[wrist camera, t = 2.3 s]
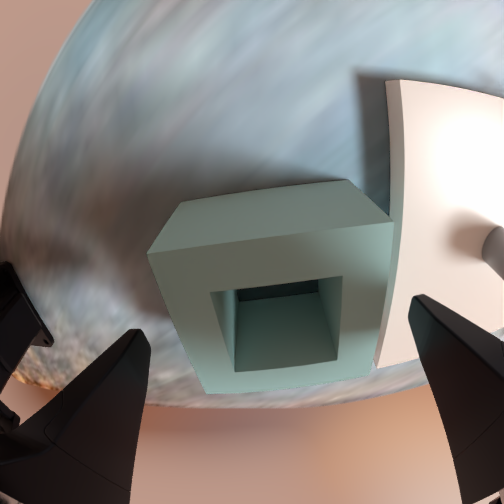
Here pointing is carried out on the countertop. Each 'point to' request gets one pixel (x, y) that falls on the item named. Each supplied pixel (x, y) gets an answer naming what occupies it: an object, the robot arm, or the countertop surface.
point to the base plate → (443, 209)
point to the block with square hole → (272, 273)
